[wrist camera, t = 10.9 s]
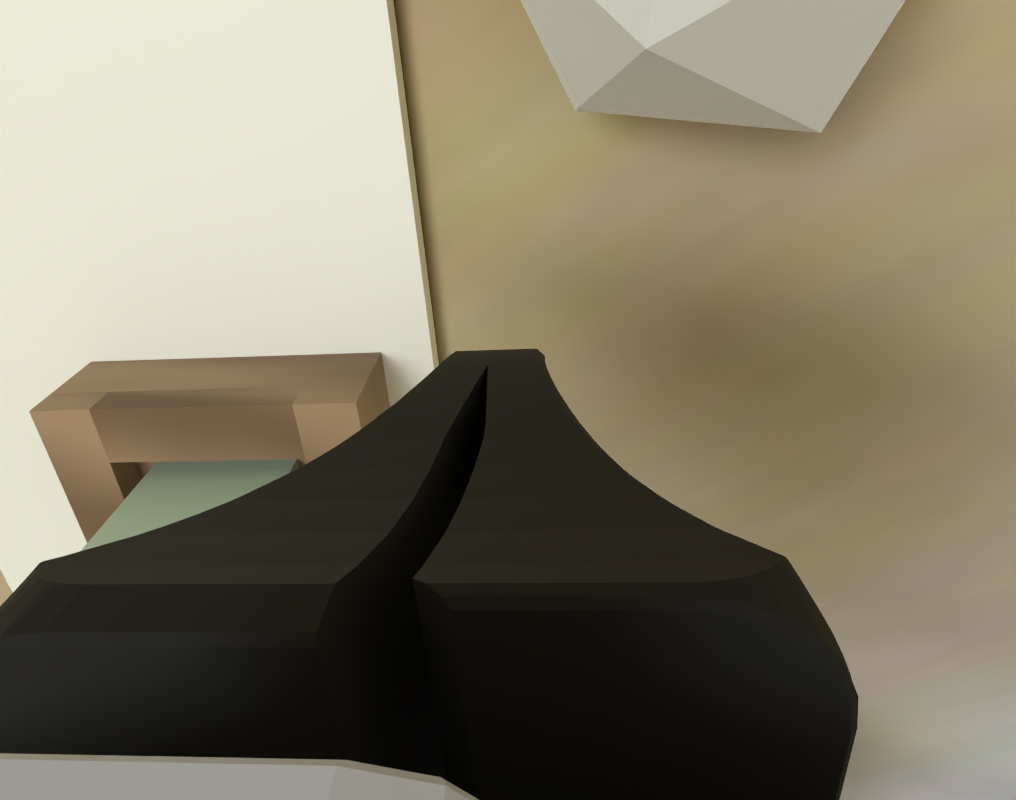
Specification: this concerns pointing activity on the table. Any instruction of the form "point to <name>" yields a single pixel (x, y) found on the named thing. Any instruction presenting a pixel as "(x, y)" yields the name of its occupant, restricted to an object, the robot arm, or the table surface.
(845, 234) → the table surface
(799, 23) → the die
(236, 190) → the cream board
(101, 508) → the walnut socket base
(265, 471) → the sage block
